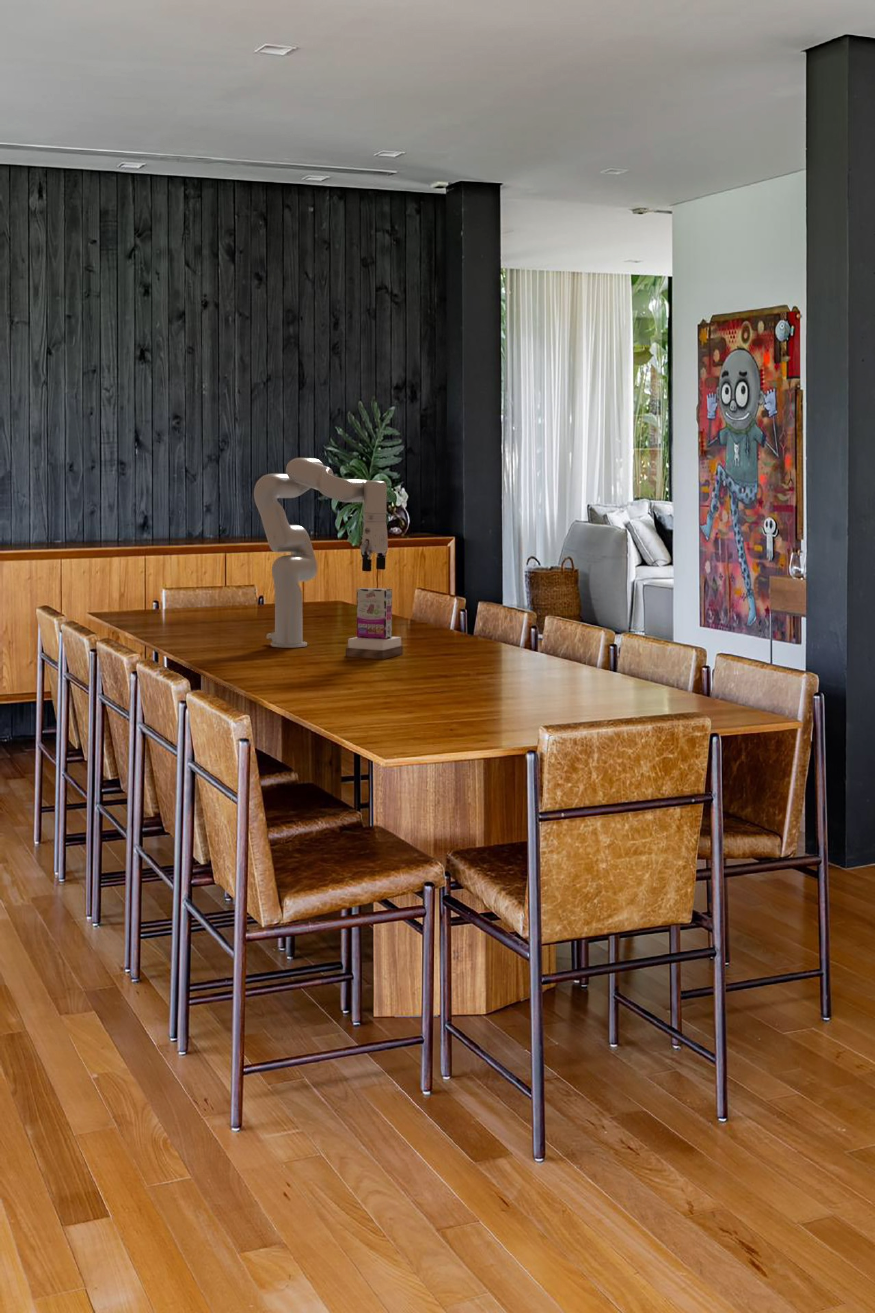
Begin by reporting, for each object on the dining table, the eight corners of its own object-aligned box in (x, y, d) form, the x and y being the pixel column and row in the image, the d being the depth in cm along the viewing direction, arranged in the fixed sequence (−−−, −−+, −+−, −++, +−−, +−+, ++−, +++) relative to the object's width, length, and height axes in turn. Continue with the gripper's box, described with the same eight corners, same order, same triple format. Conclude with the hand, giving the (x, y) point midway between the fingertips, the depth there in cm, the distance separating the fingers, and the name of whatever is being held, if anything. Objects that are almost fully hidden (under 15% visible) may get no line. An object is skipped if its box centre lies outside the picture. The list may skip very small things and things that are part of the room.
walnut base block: (345, 658, 469) (345, 647, 469) (366, 653, 482) (366, 643, 481) (383, 661, 463) (383, 650, 463) (402, 656, 476) (402, 645, 475)
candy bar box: (392, 637, 472) (392, 588, 470) (385, 639, 467) (385, 589, 465) (363, 636, 477) (363, 587, 475) (355, 637, 472) (356, 588, 470)
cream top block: (348, 647, 469) (348, 638, 468) (367, 643, 480) (367, 634, 480) (382, 650, 463) (382, 641, 463) (401, 646, 475) (401, 637, 474)
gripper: (372, 519, 457) (371, 572, 460) (396, 518, 473) (395, 569, 475) (351, 518, 460) (351, 571, 463) (377, 517, 476) (376, 568, 478)
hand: (373, 570), depth 469 cm, fingers open, 9 cm apart
